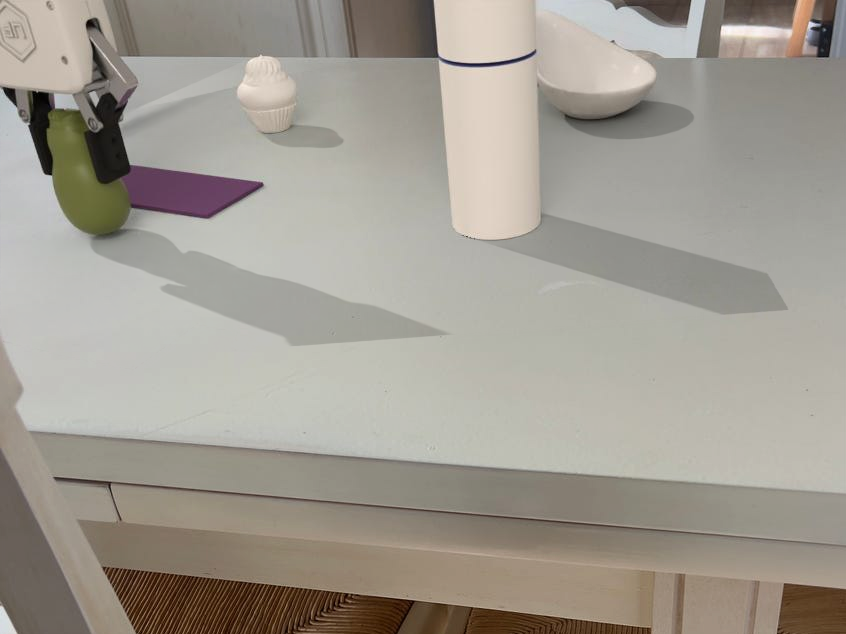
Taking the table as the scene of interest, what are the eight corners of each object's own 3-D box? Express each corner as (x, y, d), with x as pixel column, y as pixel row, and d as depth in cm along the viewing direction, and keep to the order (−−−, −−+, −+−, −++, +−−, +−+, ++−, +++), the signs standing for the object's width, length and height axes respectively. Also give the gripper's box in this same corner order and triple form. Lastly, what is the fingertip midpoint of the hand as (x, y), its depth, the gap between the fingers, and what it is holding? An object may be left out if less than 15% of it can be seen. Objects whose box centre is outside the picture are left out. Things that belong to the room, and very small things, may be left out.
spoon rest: (678, 113, 100) (683, 33, 95) (577, 138, 96) (577, 56, 91) (552, 64, 116) (551, -6, 112) (461, 84, 112) (456, 12, 108)
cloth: (69, 197, 92) (68, 194, 92) (129, 167, 98) (129, 164, 98) (207, 218, 86) (206, 215, 86) (263, 185, 92) (263, 182, 91)
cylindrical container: (452, 242, 79) (420, -146, 63) (451, 208, 84) (421, -157, 68) (544, 236, 79) (535, -155, 63) (537, 201, 84) (527, -166, 68)
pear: (57, 240, 84) (14, 114, 78) (102, 216, 88) (63, 94, 81) (108, 248, 82) (68, 119, 76) (151, 223, 86) (116, 98, 79)
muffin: (289, 115, 108) (277, 43, 103) (314, 128, 103) (302, 54, 99) (235, 128, 105) (219, 55, 101) (257, 142, 101) (243, 67, 97)
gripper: (-120, -84, 71) (-23, 178, 83) (59, -80, 64) (137, 204, 76) (-35, -101, 76) (45, 148, 88) (139, -98, 69) (200, 170, 81)
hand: (87, 171), depth 82 cm, fingers closed on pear, 5 cm apart
